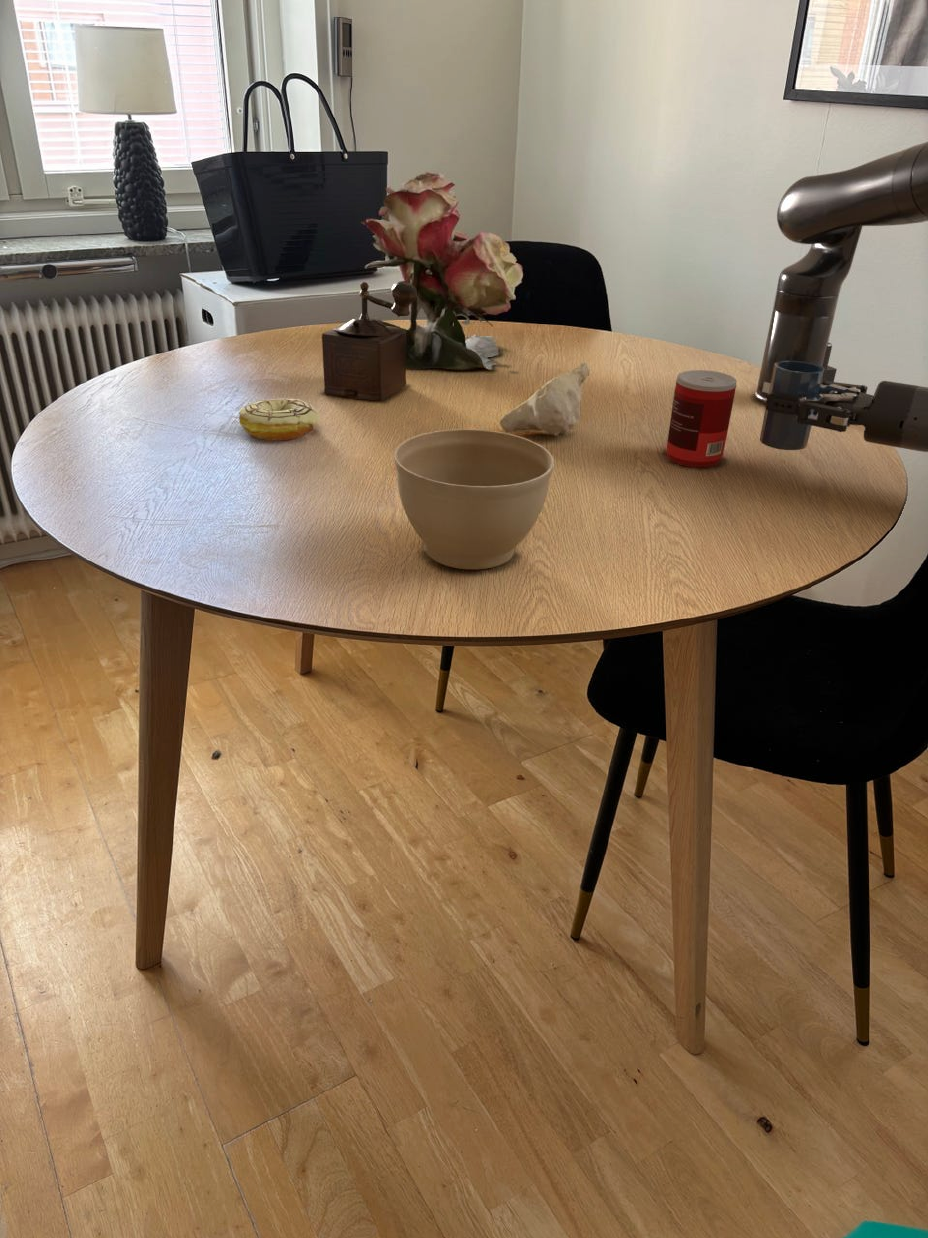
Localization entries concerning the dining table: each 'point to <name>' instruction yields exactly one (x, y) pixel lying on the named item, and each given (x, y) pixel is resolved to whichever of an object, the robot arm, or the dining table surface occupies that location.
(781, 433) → the tumbler
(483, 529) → the planter bowl
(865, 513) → the dining table surface
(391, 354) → the manual coffee grinder
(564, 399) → the cream rock
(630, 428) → the dining table surface
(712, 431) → the canned food
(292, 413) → the decorated donut
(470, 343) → the rose bouquet
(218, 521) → the dining table surface
